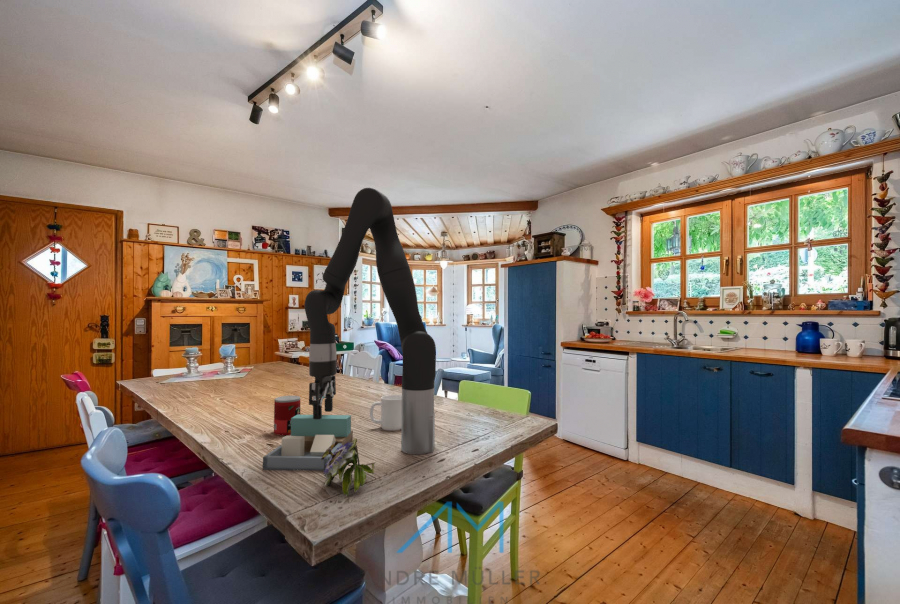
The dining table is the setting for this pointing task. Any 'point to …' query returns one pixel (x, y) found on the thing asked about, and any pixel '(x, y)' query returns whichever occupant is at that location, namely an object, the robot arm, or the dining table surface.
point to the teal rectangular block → (321, 425)
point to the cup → (389, 412)
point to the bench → (342, 440)
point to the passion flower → (340, 462)
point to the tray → (295, 461)
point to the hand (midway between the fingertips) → (323, 415)
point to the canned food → (285, 413)
